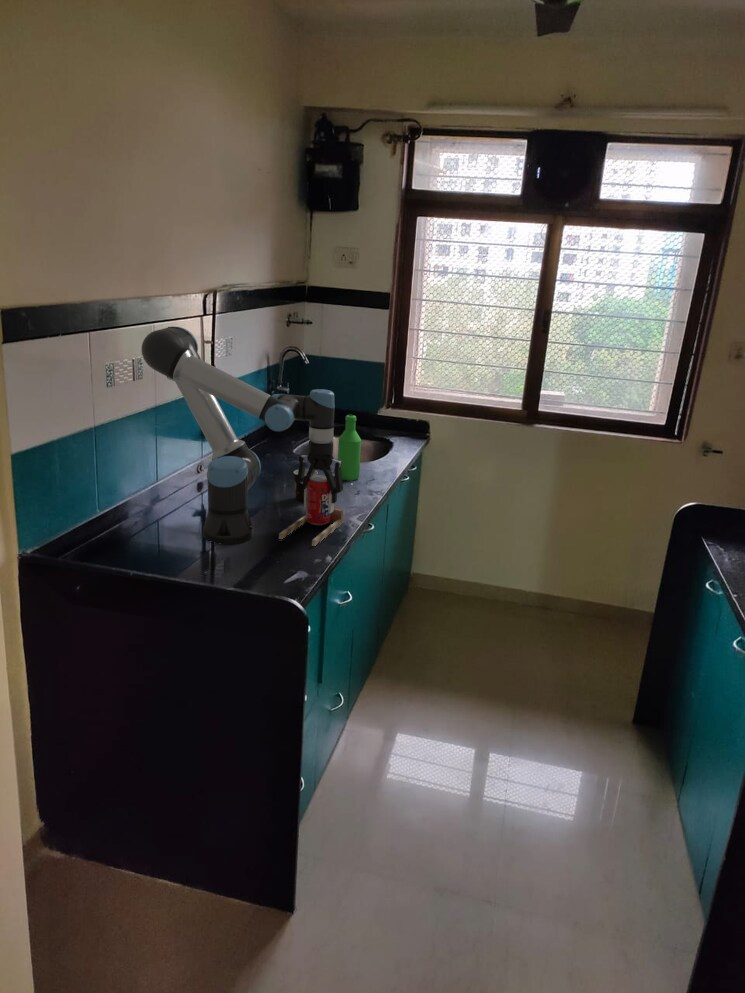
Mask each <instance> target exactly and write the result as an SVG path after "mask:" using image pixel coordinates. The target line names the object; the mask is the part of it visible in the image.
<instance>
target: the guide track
mask: <svg viewBox="0 0 745 993" xmlns="http://www.w3.org/2000/svg"><path fill="white" fill-rule="evenodd" d="M343 517H344V509H343V508H337V507H334V511H333V512H332V513H331V520H330V522H329V523H328V524H330V525H329V526H328V527H327V528H325V529H324V530H322V532H320V533H319V534H318V535H316V537H313V539H312V540H311V547H312V546H316V545H317V544H318V543H319V542H320V543H322V542H323V541H324V540H325V539H326V538H328V537H329V536H330V535H331V534H333V532H335V531H336V530H337V529H339V527H340V525H341V524H342V523H343V524H344V518H343ZM305 522H306V523H308V521H307V520H306V514H305V515H303V516H302V517H300V518H299V519H297V520H296V521H295V522H293V523H292V524H290V525H289V526H288V527H286V528H285V529H283V530H282V531H281V532H279V533H278V540H279V539H283V538H285V537H286V536H287V535H289V534H290V533H291V534H293V533H294V532H295V531H297V530H298V529H299V528H301V527H302V526H303V525H305V524H306V523H305ZM304 523H305V524H304ZM331 523H333V524H331ZM343 524H342V525H343ZM301 525H302V526H301ZM342 525H341V526H342ZM300 526H301V527H300ZM298 527H299V528H298ZM297 528H298V529H297ZM336 528H337V529H336ZM296 529H297V530H296ZM335 529H336V530H335ZM294 530H295V531H294ZM334 530H335V531H334ZM293 531H294V532H293ZM292 532H293V533H292ZM330 533H331V534H330ZM291 534H290V535H291ZM329 534H330V535H329ZM290 535H289V536H290ZM328 535H329V536H328ZM287 537H288V536H287ZM287 537H286V538H287ZM286 538H285V539H286ZM324 538H325V539H324ZM323 539H324V540H323ZM283 540H284V539H283ZM322 540H323V541H322ZM321 541H322V542H321ZM320 543H319V544H320ZM319 544H318V545H319ZM318 545H317V546H318ZM317 546H316V547H317Z"/></svg>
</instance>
